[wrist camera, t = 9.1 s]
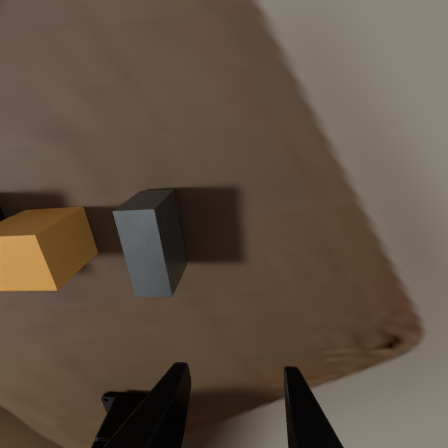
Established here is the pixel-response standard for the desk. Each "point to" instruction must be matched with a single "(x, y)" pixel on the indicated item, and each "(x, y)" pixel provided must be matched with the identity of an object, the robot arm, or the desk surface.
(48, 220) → the block
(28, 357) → the desk surface
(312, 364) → the desk surface
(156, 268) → the gray rectangular block
